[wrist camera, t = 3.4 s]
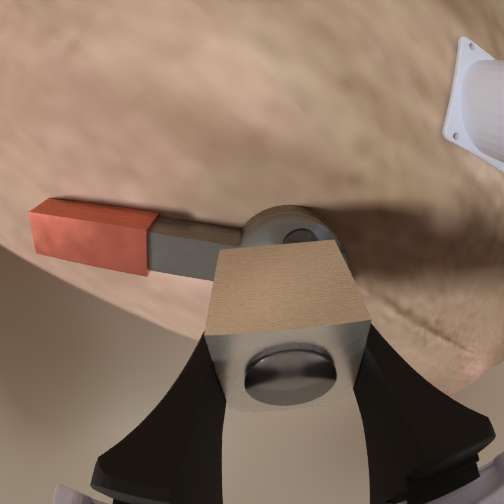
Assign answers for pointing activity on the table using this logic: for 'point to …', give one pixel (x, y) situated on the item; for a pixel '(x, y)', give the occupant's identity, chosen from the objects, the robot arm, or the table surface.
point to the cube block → (285, 326)
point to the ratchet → (162, 236)
